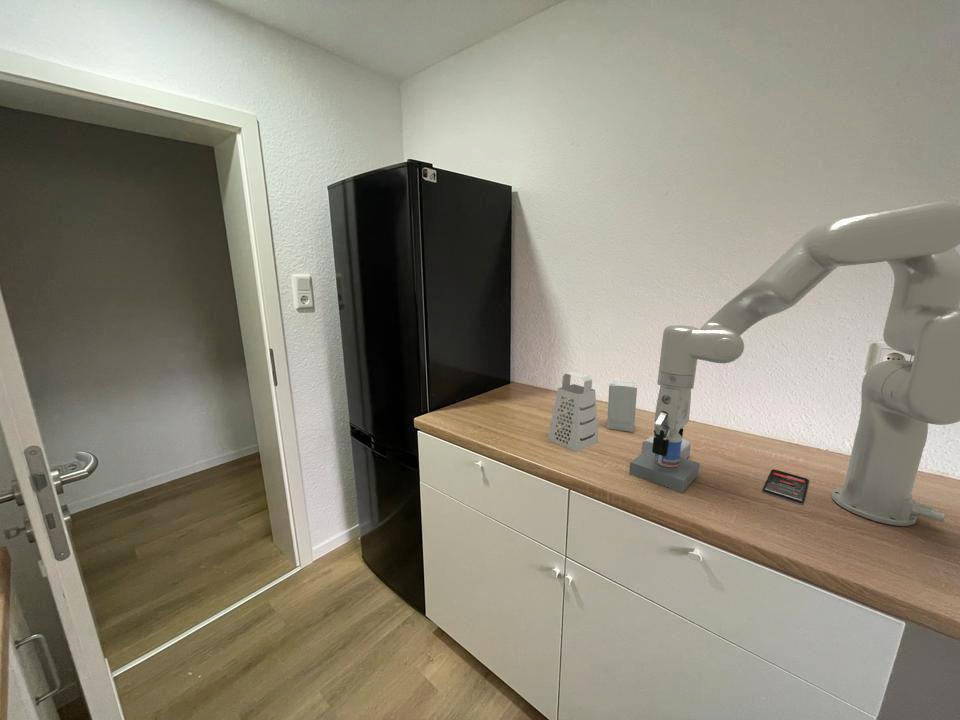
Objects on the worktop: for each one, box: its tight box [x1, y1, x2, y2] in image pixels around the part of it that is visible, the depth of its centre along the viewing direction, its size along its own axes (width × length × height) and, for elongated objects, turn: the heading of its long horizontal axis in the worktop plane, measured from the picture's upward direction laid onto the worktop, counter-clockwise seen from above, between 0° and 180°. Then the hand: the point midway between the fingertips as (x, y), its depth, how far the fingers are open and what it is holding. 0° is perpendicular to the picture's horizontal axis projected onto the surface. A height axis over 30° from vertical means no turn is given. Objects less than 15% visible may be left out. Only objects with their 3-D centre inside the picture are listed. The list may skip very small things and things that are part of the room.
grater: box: [546, 371, 600, 453], centre depth 110 cm, size 10×10×20 cm
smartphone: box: [761, 468, 810, 506], centre depth 89 cm, size 7×1×15 cm
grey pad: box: [629, 448, 701, 494], centre depth 93 cm, size 12×12×3 cm
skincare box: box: [606, 380, 638, 433], centre depth 121 cm, size 8×6×15 cm
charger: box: [640, 434, 692, 459], centre depth 105 cm, size 5×9×15 cm
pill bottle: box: [654, 425, 683, 467], centre depth 92 cm, size 6×5×10 cm
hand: (667, 448), depth 92 cm, fingers open, 9 cm apart
